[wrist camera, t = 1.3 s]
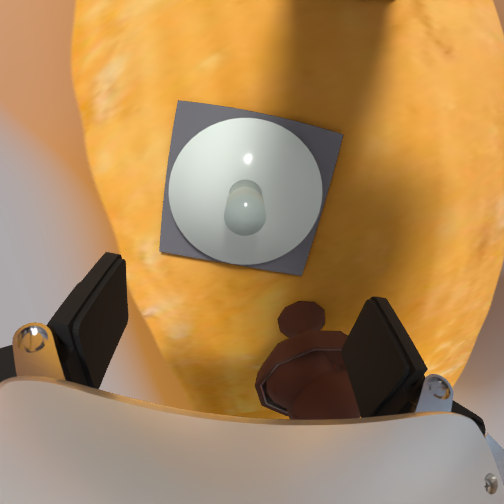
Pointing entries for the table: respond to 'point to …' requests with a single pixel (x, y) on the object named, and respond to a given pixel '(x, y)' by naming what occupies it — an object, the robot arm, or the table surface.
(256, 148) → the lid
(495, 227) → the table surface
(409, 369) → the robot arm
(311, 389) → the ice cream bowl
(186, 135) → the mat
